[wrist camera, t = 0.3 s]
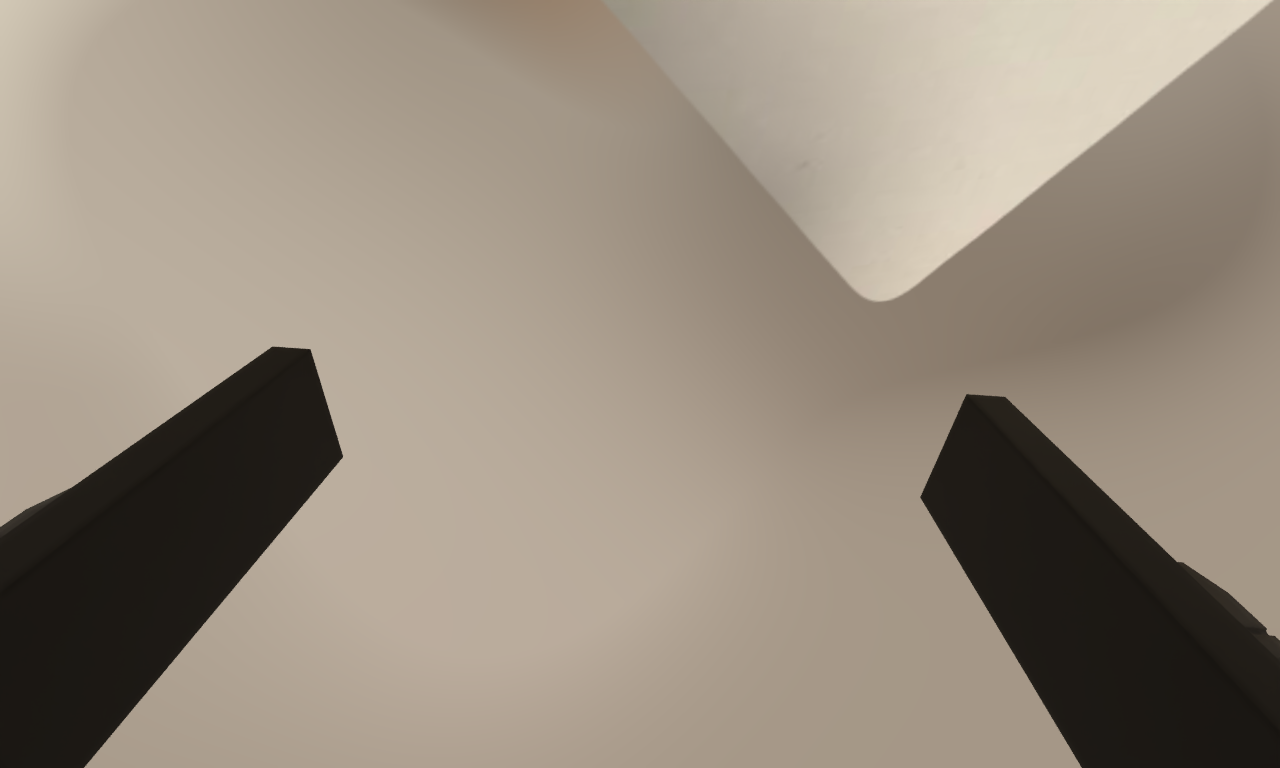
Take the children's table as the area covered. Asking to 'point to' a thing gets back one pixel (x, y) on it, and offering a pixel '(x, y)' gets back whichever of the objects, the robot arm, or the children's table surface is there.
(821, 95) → the children's table surface
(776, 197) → the children's table surface
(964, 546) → the robot arm
